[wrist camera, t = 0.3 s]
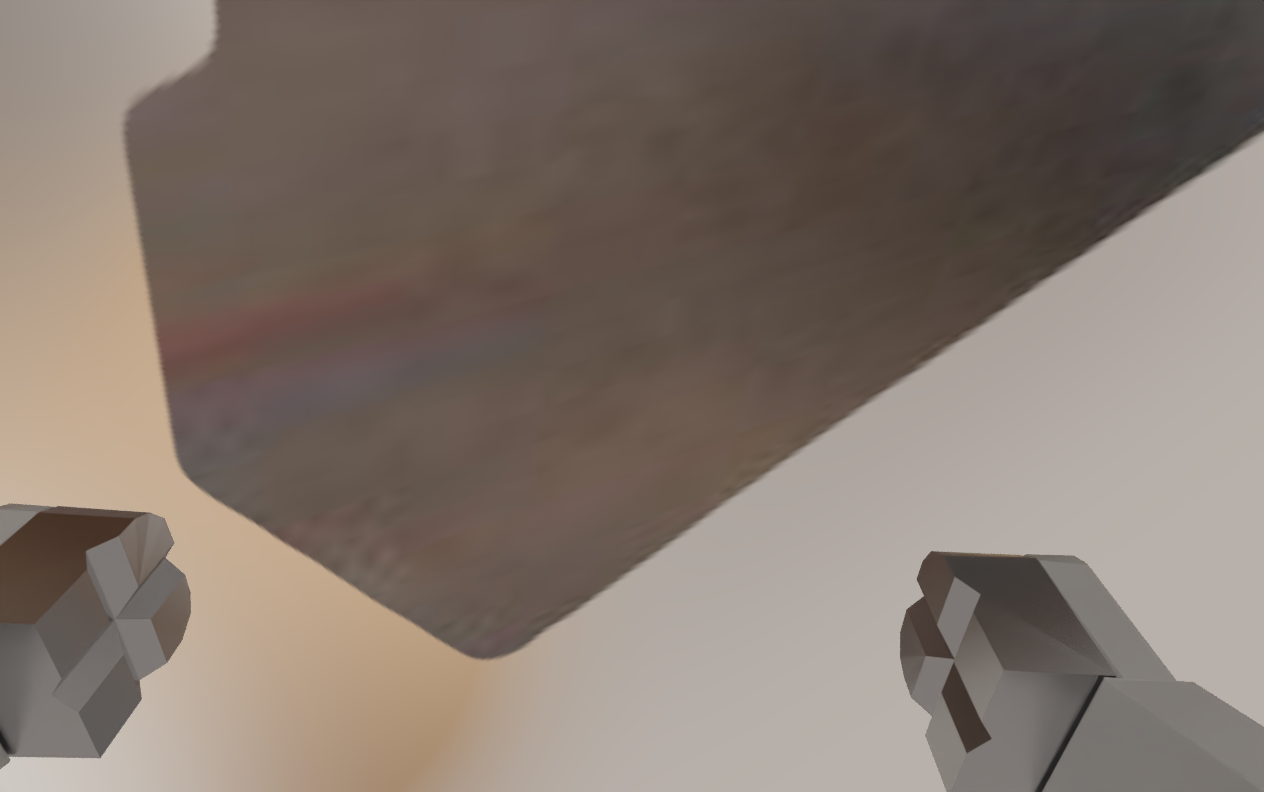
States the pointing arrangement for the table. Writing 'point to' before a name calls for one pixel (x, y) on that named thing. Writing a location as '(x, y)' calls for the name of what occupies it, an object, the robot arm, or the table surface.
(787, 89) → the table surface
